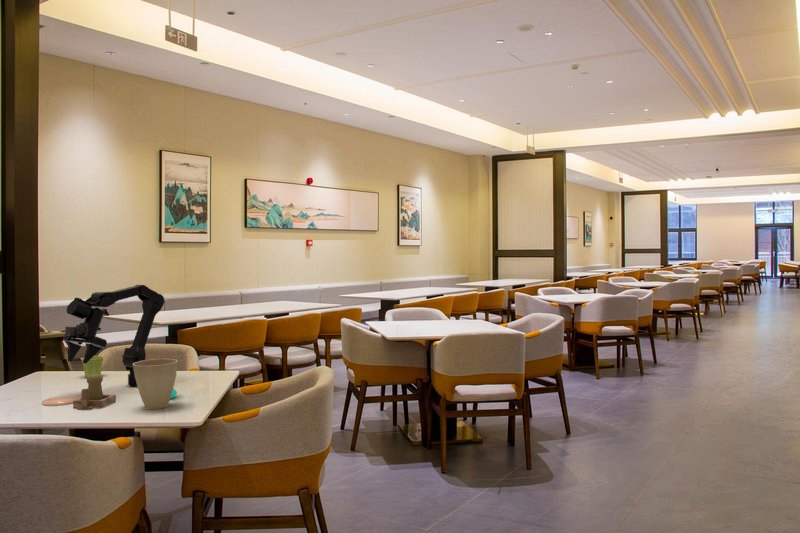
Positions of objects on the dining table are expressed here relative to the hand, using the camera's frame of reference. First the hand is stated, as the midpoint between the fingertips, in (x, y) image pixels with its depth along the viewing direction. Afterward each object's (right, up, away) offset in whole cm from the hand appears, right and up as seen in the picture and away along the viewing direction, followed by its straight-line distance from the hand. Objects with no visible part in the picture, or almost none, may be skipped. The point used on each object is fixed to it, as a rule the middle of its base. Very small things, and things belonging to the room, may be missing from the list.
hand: (76, 362), depth 236 cm
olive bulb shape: (+12, -14, -11) cm, 21 cm away
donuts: (+32, -14, 0) cm, 35 cm away
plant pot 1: (-15, -13, +43) cm, 47 cm away
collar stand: (+12, -14, -12) cm, 22 cm away
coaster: (-3, -14, -6) cm, 15 cm away
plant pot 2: (+35, -14, -14) cm, 41 cm away
